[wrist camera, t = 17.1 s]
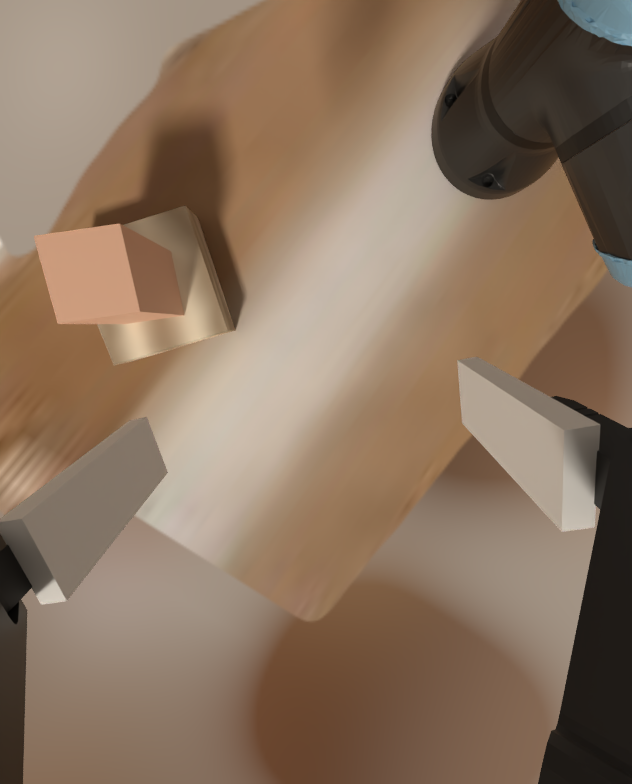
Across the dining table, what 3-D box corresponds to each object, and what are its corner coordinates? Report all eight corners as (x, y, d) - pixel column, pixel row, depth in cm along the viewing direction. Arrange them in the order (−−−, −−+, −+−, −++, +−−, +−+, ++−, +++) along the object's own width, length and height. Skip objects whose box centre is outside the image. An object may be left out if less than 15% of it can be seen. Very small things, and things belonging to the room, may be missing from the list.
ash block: (198, 218, 43) (185, 205, 39) (236, 330, 46) (227, 331, 41) (91, 252, 44) (64, 243, 39) (134, 361, 46) (113, 365, 42)
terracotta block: (171, 251, 39) (119, 223, 29) (184, 315, 41) (140, 311, 30) (108, 260, 39) (33, 236, 29) (124, 324, 41) (57, 323, 30)
